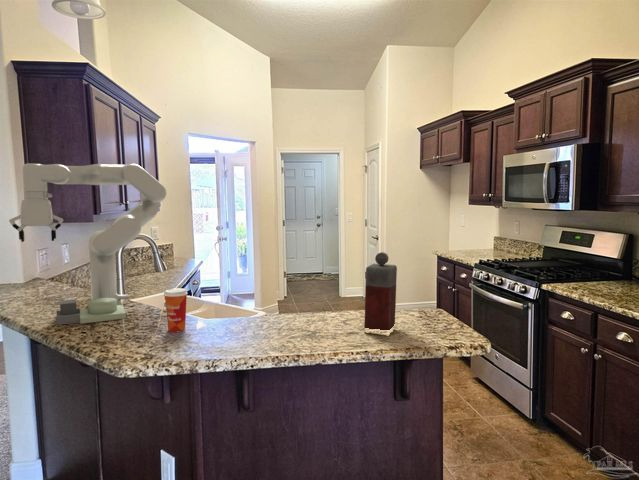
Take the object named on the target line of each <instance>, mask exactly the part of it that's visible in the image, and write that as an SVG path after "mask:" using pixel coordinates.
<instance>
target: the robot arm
mask: <svg viewBox="0 0 639 480" xmlns="http://www.w3.org/2000/svg"><path fill="white" fill-rule="evenodd" d="M22 183H23V185H22V187H23V199H22V200H21V203H20V204H21V205H20V215H17V216H15V217H12V218H10V219H8V222H9V223H10V225H11V226H12V227H13V228H14V229H15V230H17V232H18V239H19V240H20V241H21V243H24V242H25V231H24V228H26V227H49V228H50V229H51V231H50V233H51V234H50V236H51V237H50V238H51V241H52V242H54V241H55V239H57V230H58V229H59V228H60V227H61V226H62V224H63V222H64V218H62V217H59V216H58V215H55V214H53V208H52V207H53V206H52V202H51V200H50V199H49V198H53V193H49V192H48V183H51V184H54V185H92V186H116V185H117V186H122V185H123V186H126V185H127V186H128V185H131V186H132V187H133V188H134V189H135V190H137V191H138V192H139V193H140V196H141V197H140V201H139V202H138V204H137V205H136V206H134V207H133V208H131V209H130V210H129V211H127V212H125V213H124V214H122V215H120V216H119V217H117V218H116V219H115V220H114V222H113V224H112V225H110V226H109V227H107V228H106V229H104V230H96V231H94V232H93V233H92V234H91V235H90V236H89V239H88V251H89V252H88V253H89V267H90V268H89V269H90V270H89V272H90V294H91V297H90V298H91V299H90V300H93V299H98V298H115V299H117V305H122V300H129V297H130V295H129V294H123V293H122V294H118V292H117V265H116V263H117V262H116V253H117V252H118V251H119V250H121V249H122V248H124V247H126V245H128V244H129V243H131V242H132V241H133V240H135V239H136V238H137V237H138V236H139V235H140V234H141V231H142V227H144V226H145V225H147V224H148V223H149V222H150V221H152V220H153V219H154V218H155V217H156V216H157V214H158V213H159V209H160V205H161V202H163V201H164V200H165V199H166V197H167V189H166V188H165V186H164V185H163V184H162V183H161V182H160V180H158V179H157V178H155V177H154V176H153V175H152V174H150V173H149V172H148V171H147V170H145V168H143V167H142V166H140V165H139V164H136V163H130V164H129V163H128V164H111V163H109V164H106V163H104V164H103V163H96V164H95V163H94V164H88V165H87V164H86V165H64V164H59V163H55V164H42V163H24V164H23V165H22ZM18 220H20V224H21V225H20V226H19V225H18V224H17V223H16V221H18ZM54 220H55V221H56V220H57V221H58V223H56V224H55V225H54V224H53V223H54Z"/></svg>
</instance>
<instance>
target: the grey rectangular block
mask: <svg viewBox="0 0 639 480" xmlns="http://www.w3.org/2000/svg"><path fill="white" fill-rule="evenodd" d="M59 305H60V306H59V307H60V308H59V310H60V313H61V315H69V314H77V308H78V307H77V299H75V298H74V299H64V300H63V299H62V300H60V303H59Z"/></svg>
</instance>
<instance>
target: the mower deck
mask: <svg viewBox="0 0 639 480" xmlns="http://www.w3.org/2000/svg"><path fill="white" fill-rule="evenodd" d="M86 304H87V306H86V307H87V308H80V307H77V314H69V315H61V313H60V309H56V315H55V325H56V326H57V325H58V326H59V325H66V324H67V325H68V324H74V323H75V324H77V323H80V324H88V323H89V324H91V323H97V322H105V321H115V320H122V319H123V320H124V319H127V314H126V313H127V312H126V309H125V307H124V305H123V304H120V305H117V299H115V298H98V299H93V300H91V299H89V300H88V301H87V302H86Z"/></svg>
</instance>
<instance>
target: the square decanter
mask: <svg viewBox="0 0 639 480" xmlns="http://www.w3.org/2000/svg"><path fill="white" fill-rule="evenodd" d="M374 259H375V262H376V263H375V262H374V263H371V264H370V265H368V266H367V267H366V268H365V284H364V285H365V290H364V291H365V292H364V297H365V298H364V328H369V329H380V330H390V329H391V328H392V327H393V326H394V324H395V325H396V309H397V308H396V305H397V304H396V303H397V275H398V274H397V272H398V269H397V265H395V264H389V263H388V262H389V256H388V254H387V253H386V252H384V251H383V252H382V251H381V252H379V253H377V254H376V255H375V258H374ZM387 263H388V264H387Z"/></svg>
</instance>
